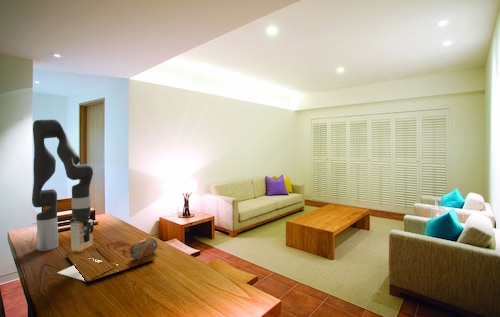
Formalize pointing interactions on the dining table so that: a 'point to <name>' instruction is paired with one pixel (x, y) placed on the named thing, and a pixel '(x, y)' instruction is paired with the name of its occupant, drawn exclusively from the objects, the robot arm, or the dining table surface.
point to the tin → (143, 248)
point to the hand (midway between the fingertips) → (82, 240)
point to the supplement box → (79, 237)
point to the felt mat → (74, 272)
